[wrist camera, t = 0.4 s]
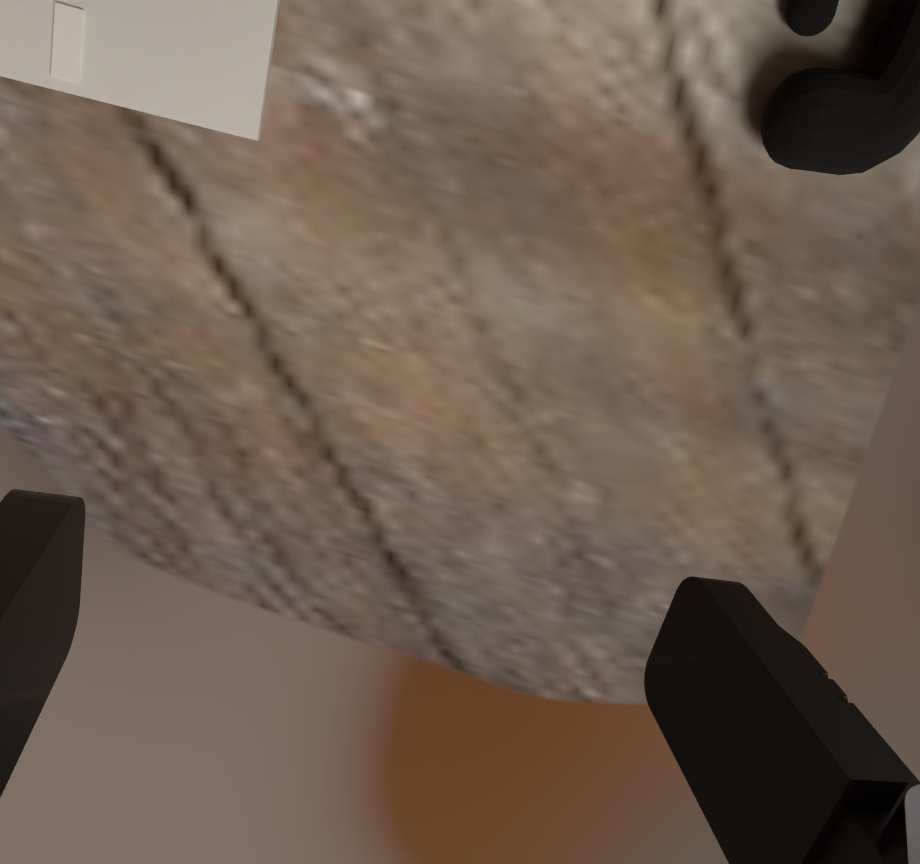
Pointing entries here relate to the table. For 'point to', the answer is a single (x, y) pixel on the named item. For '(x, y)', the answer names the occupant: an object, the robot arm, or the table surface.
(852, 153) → the figurine
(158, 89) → the lock board
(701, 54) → the table surface
